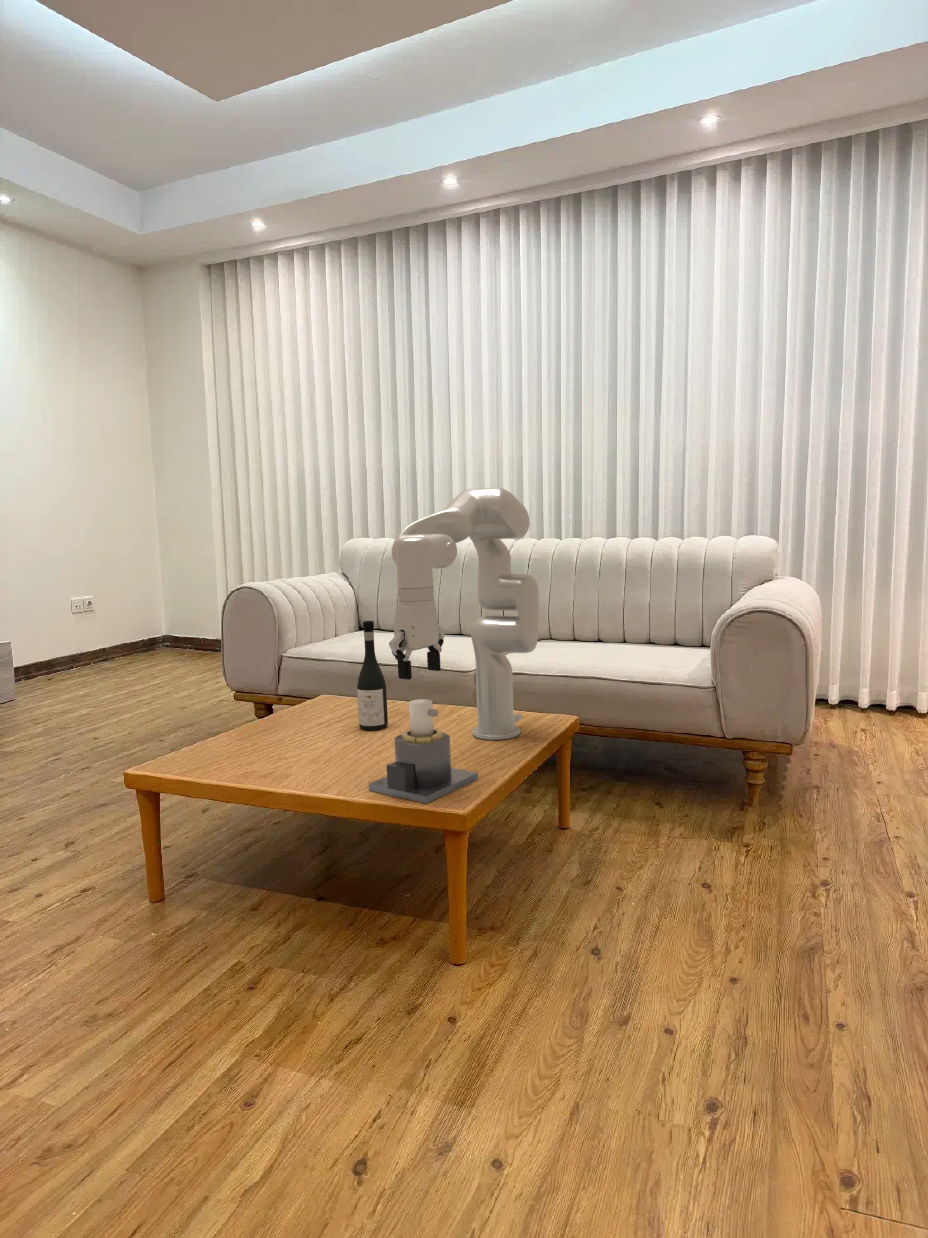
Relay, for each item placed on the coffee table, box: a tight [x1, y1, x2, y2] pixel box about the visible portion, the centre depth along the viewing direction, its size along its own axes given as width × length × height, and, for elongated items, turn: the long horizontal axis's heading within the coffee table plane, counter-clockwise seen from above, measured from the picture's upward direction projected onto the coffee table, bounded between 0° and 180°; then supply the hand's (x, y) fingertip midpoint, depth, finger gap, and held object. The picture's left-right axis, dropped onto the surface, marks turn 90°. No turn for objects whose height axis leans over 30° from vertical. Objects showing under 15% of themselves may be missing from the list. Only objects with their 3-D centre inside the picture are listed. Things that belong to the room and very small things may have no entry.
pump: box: [408, 698, 439, 737], centre depth 180 cm, size 5×7×8 cm
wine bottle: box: [356, 620, 389, 731], centre depth 232 cm, size 8×8×30 cm
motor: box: [368, 727, 479, 805], centre depth 182 cm, size 18×16×12 cm
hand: (419, 674), depth 180 cm, fingers open, 9 cm apart
